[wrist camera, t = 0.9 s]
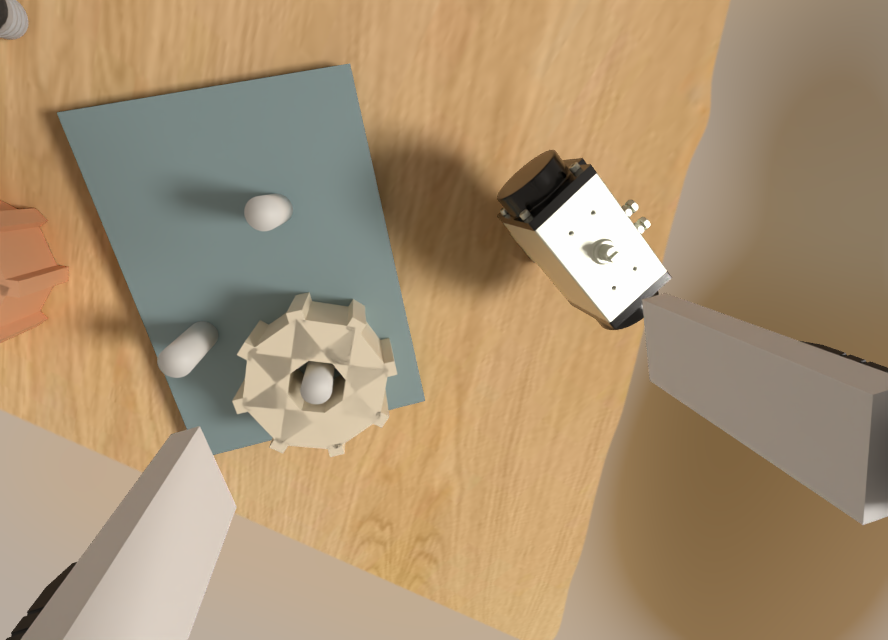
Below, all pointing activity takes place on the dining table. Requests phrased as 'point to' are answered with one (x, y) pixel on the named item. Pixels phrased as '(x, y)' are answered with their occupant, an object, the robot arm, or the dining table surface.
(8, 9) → the light bulb
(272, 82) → the gear board
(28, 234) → the loose gear
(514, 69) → the dining table surface
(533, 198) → the pneumatic valve
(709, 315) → the robot arm
